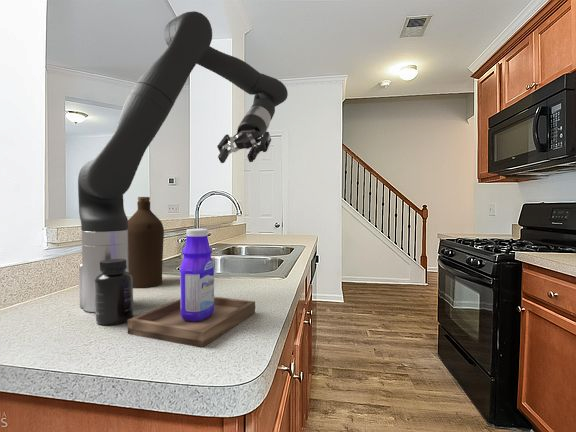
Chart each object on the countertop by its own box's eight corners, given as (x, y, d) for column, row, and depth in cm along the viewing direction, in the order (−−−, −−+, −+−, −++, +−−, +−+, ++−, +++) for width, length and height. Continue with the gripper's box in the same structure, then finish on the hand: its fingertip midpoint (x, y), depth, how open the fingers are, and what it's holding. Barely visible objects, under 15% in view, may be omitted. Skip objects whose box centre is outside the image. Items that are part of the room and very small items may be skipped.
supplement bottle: (123, 312, 74) (123, 256, 74) (139, 319, 70) (139, 260, 70) (89, 320, 69) (88, 260, 69) (104, 328, 65) (103, 264, 64)
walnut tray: (127, 333, 63) (127, 319, 62) (192, 304, 80) (192, 293, 80) (203, 347, 57) (202, 332, 57) (255, 313, 75) (255, 301, 74)
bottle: (202, 324, 65) (202, 230, 64) (174, 322, 66) (174, 230, 65) (218, 312, 72) (218, 228, 71) (193, 310, 73) (193, 227, 72)
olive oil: (172, 282, 103) (171, 197, 102) (145, 290, 93) (144, 196, 92) (144, 278, 107) (143, 197, 106) (115, 286, 97) (114, 196, 96)
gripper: (228, 115, 101) (206, 149, 91) (273, 111, 96) (255, 146, 86) (237, 137, 106) (217, 171, 96) (280, 134, 101) (264, 170, 91)
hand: (235, 160), depth 91 cm, fingers open, 8 cm apart
